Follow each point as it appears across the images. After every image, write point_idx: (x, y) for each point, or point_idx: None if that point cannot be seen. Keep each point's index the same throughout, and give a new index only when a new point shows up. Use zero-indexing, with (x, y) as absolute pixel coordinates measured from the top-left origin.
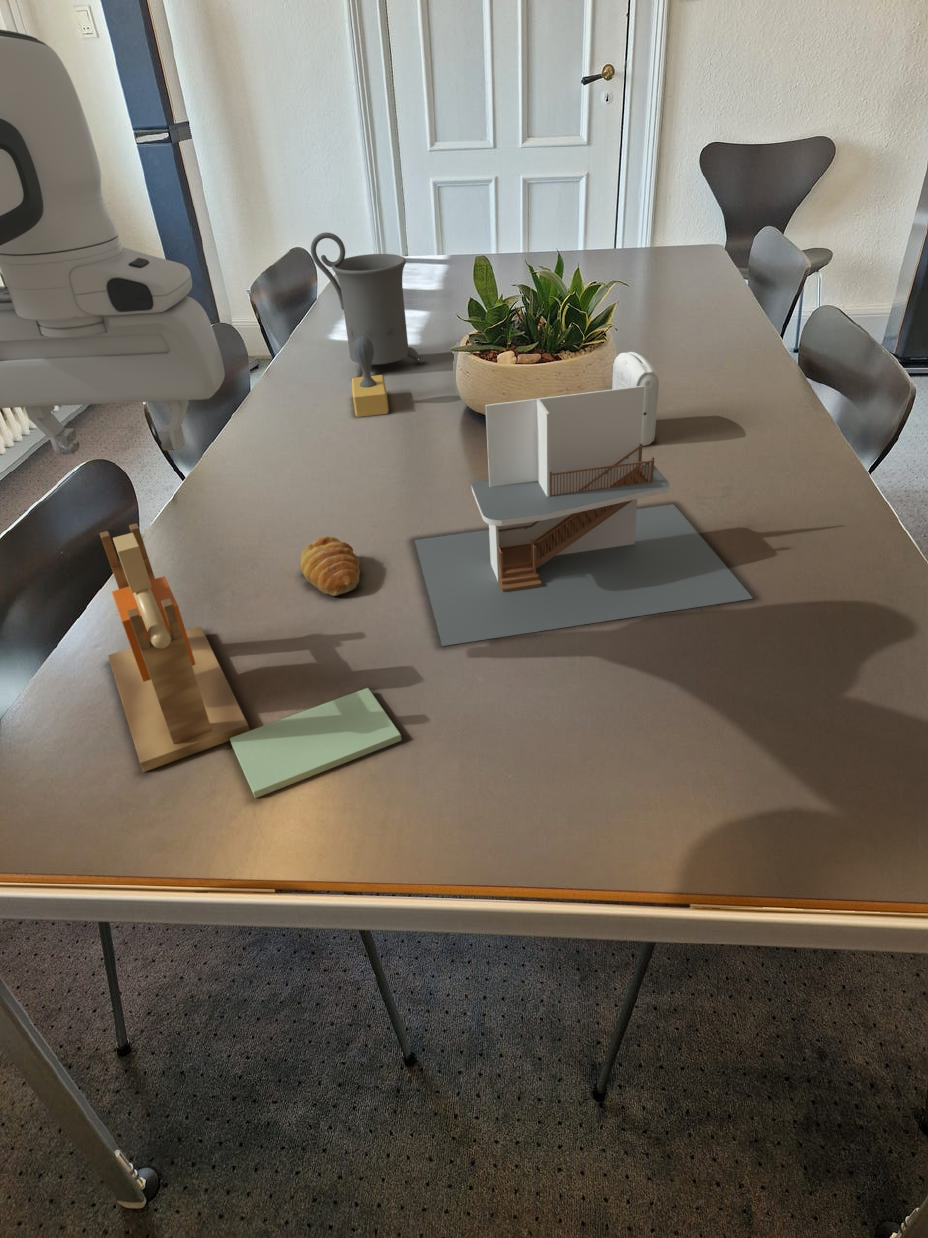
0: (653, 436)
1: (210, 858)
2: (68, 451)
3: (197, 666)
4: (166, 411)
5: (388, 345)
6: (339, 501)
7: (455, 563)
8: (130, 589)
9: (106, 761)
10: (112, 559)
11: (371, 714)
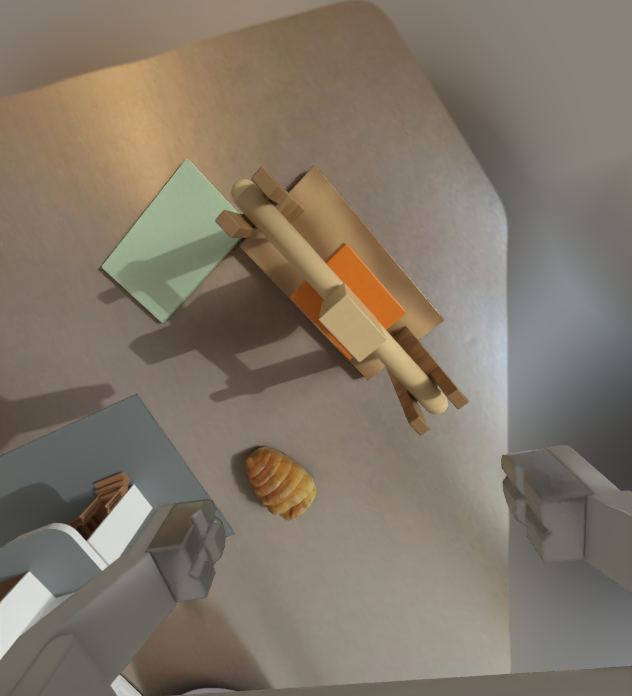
0: None
1: (187, 71)
2: (517, 455)
3: None
4: (67, 641)
5: None
6: (335, 584)
7: None
8: (380, 321)
9: (363, 174)
10: (439, 374)
11: (138, 287)
